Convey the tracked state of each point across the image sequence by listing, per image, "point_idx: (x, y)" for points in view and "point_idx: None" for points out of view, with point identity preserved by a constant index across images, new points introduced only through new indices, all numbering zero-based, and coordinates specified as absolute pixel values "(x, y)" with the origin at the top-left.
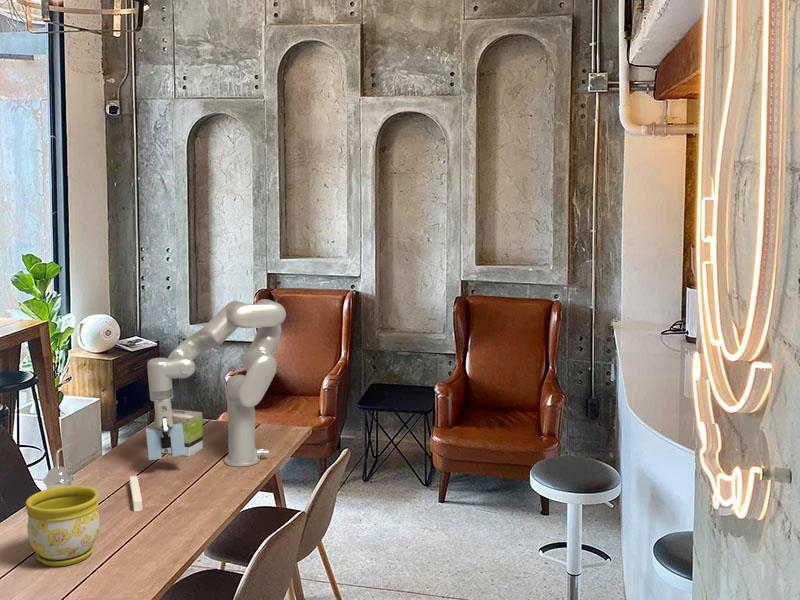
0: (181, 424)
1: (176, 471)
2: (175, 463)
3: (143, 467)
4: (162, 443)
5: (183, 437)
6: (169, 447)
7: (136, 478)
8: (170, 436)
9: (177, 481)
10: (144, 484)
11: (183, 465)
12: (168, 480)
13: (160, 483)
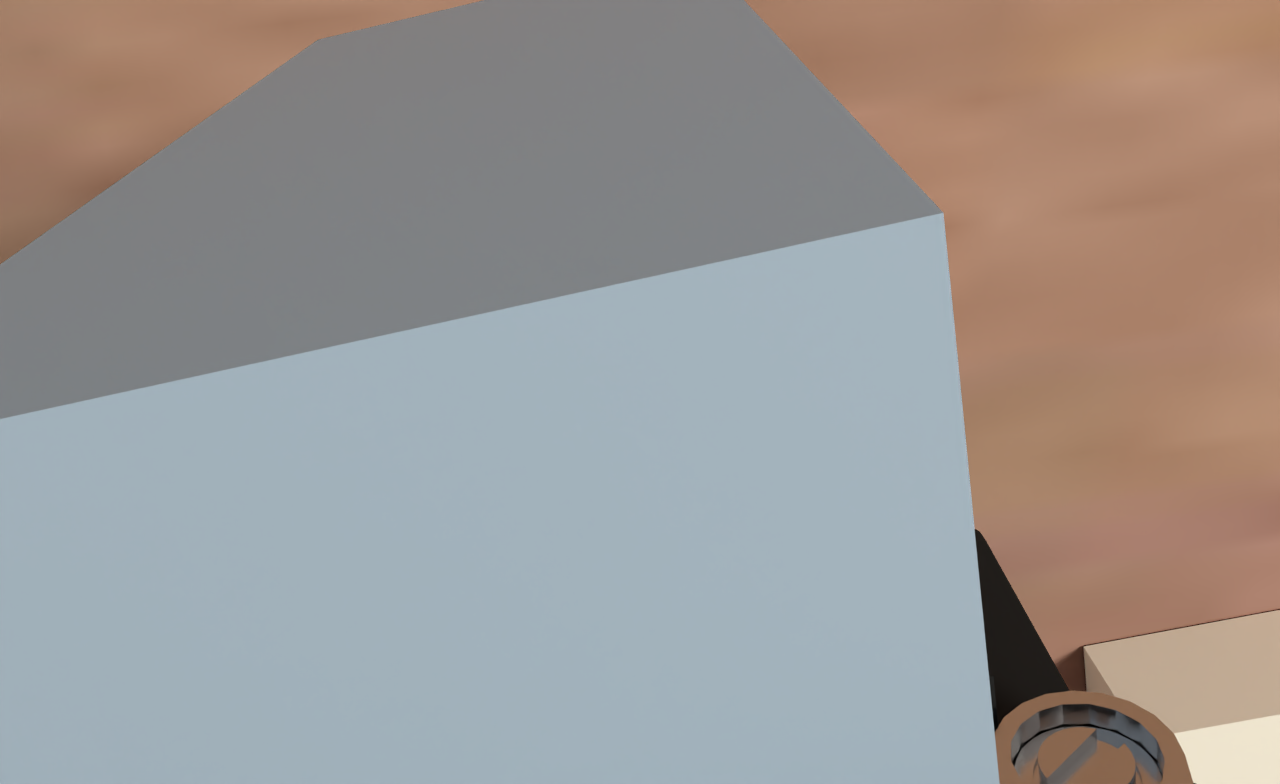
0: (83, 439)
1: None
2: (66, 215)
3: None
4: None
5: (775, 49)
6: None
7: (1277, 730)
8: (990, 670)
9: (1117, 50)
10: (1106, 558)
11: (179, 41)
12: (1017, 222)
13: (1134, 335)
